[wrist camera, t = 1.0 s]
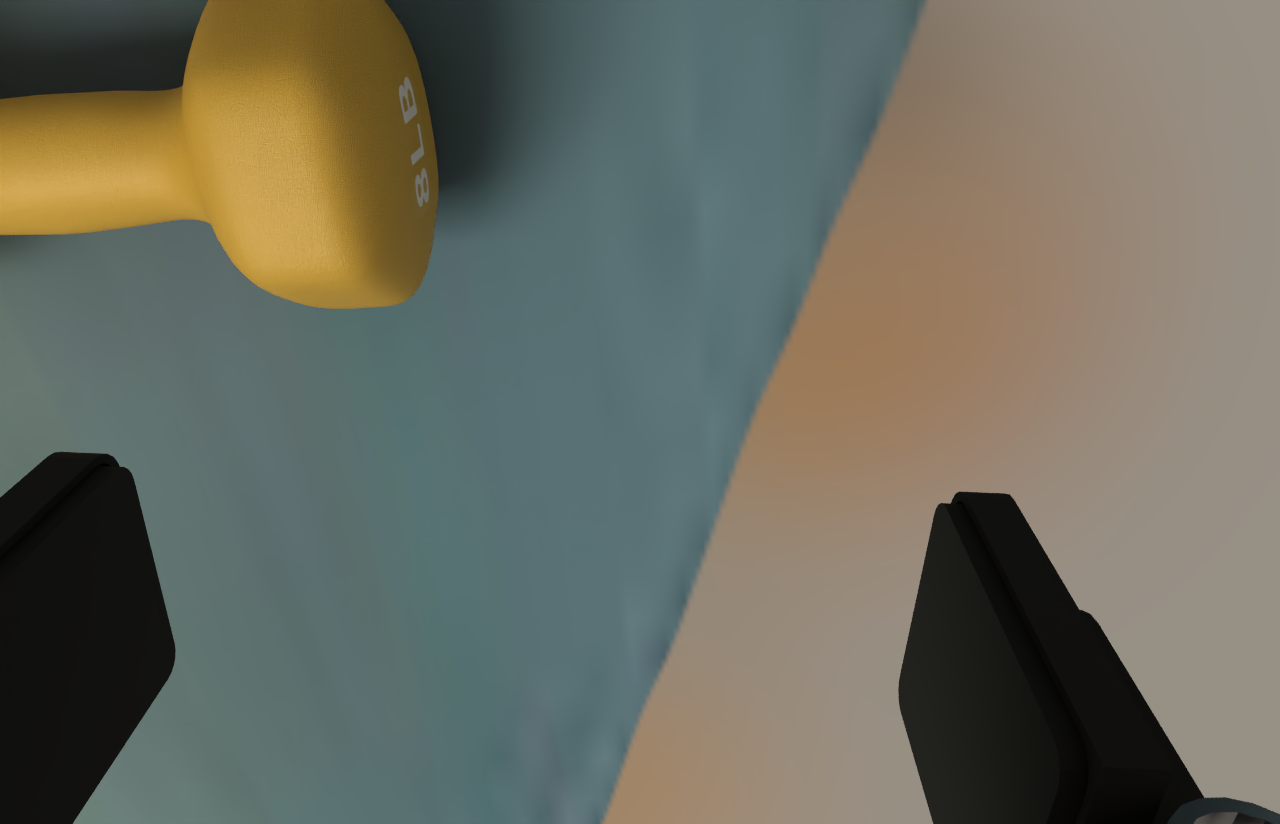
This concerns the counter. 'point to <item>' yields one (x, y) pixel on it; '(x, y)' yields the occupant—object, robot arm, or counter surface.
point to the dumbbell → (252, 152)
